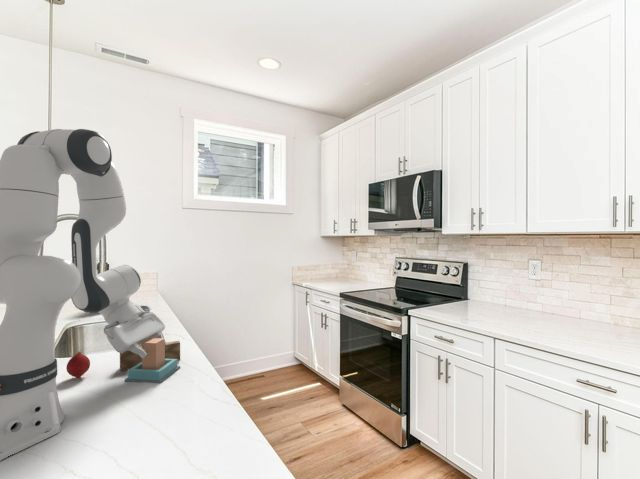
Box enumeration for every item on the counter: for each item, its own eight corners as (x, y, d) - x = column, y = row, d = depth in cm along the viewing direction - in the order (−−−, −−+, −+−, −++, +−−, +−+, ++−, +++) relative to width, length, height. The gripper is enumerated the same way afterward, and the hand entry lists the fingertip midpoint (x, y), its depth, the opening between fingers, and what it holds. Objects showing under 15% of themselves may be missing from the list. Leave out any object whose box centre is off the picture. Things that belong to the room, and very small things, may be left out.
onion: (77, 382, 98) (77, 355, 98) (61, 381, 100) (61, 354, 99) (94, 374, 104) (94, 349, 104) (79, 373, 105) (79, 347, 105)
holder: (160, 383, 98) (160, 372, 98) (124, 381, 99) (124, 371, 99) (180, 367, 109) (180, 358, 109) (147, 366, 110) (147, 357, 110)
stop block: (156, 375, 102) (156, 343, 101) (142, 375, 102) (141, 342, 102) (164, 369, 106) (164, 338, 106) (151, 369, 107) (151, 338, 106)
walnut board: (179, 357, 118) (179, 340, 118) (180, 359, 116) (180, 342, 116) (119, 368, 109) (119, 349, 109) (119, 370, 107) (119, 352, 107)
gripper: (107, 320, 94) (140, 355, 93) (151, 304, 115) (179, 334, 114) (93, 335, 95) (126, 371, 94) (139, 317, 115) (166, 346, 114)
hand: (155, 350), depth 104 cm, fingers open, 8 cm apart
